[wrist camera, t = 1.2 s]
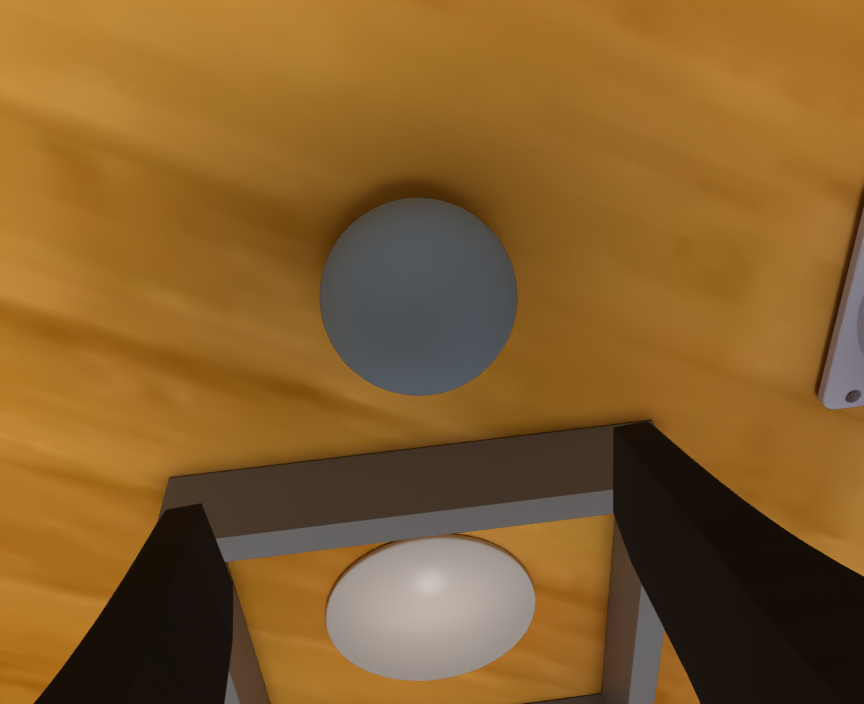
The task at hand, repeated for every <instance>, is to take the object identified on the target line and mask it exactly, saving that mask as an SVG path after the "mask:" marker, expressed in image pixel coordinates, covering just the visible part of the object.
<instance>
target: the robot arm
mask: <svg viewBox="0 0 864 704" xmlns="http://www.w3.org/2000/svg"><path fill="white" fill-rule="evenodd" d="M852 390H853V392H852V393H850V394H849V395H847V394H848V393H849V392H850V391H852ZM818 399H819V400H820V402H821V403H822V404H823V405H824V406H825V407H826V408H828V409H842V408H850V407H858V406H864V208H863V212H862V216H861V220H860V224H859V228H858V232H857V237H856V241H855V245H854V249H853V253H852V257H851V261H850V265H849V269H848V274H847V278H846V282H845V286H844V290H843V294H842V298H841V302H840V306H839V310H838V315H837V319H836V323H835V327H834V331H833V335H832V339H831V343H830V347H829V352H828V356H827V360H826V364H825V368H824V372H823V376H822V380H821V384H820V389H819V393H818ZM613 513H614V516H615V519H616V522H617V525H618V528H619V531H620V533H621V536H622V539H623V542H624V545H625V547H626V550H627V553H628V555H629V558H630V561H631V563H632V565H633V568H634V570H635V572H636V574H637V576H638V578H639V580H640V582H641V584H642V586H643V588H644V590H645V592H646V594H647V596H648V598H649V600H650V602H651V604H652V606H653V608H654V610H655V612H656V614H657V616H658V617H659V619H660V621H661V623H662V625H663V627H664V629H665V631H666V633H667V635H668V637H669V639H670V641H671V643H672V645H673V647H674V649H675V651H676V653H677V655H678V657H679V659H680V661H681V663H682V665H683V667H684V669H685V671H686V673H687V675H688V677H689V679H690V681H691V683H692V686H693V688H694V690H695V692H696V694H697V697H698V699H699V701H700V704H864V576H862V575H860V574H858V573H856V572H854V571H853V570H851V569H849V568H847V567H845V566H844V565H842V564H840V563H838V562H837V561H835V560H833V559H832V558H830V557H828V556H827V555H825V554H823V553H822V552H820V551H818V550H817V549H815V548H813V547H811V546H810V545H808V544H806V543H805V542H803V541H802V540H800V539H799V538H797V537H796V536H794V535H793V534H791V533H790V532H788V531H787V530H785V529H784V528H782V527H781V526H779V525H778V524H776V523H775V522H774V521H772V520H771V519H769V518H768V517H766V516H765V515H764V514H762V513H761V512H759V511H758V510H757V509H755V508H754V507H753V506H751V505H750V504H749V503H747V502H746V501H744V500H743V499H742V498H741V497H739V496H738V495H737V494H735V493H734V492H733V491H732V490H730V489H729V488H728V487H726V486H725V485H724V484H723V483H721V482H720V481H719V480H717V479H716V478H715V477H714V476H712V475H711V474H710V473H709V472H708V471H706V470H705V469H704V468H703V467H701V466H700V465H699V464H698V463H697V462H695V461H694V460H693V459H692V458H691V457H689V456H688V455H687V454H686V453H685V452H684V451H682V450H681V449H680V448H679V447H678V446H677V445H675V444H674V443H673V442H672V441H671V440H670V439H668V438H667V437H666V436H665V435H664V434H663V433H662V432H660V431H659V430H658V429H657V428H656V427H655V426H653V425H652V424H651V423H649V422H648V421H645V422H640V423H634V424H629V425H623V426H618V427H613ZM232 642H233V581H232V579H231V576H230V574H229V571H228V569H227V566H226V564H225V561H224V559H223V556H222V553H221V551H220V548H219V546H218V543H217V541H216V538H215V536H214V533H213V531H212V528H211V526H210V523H209V521H208V518H207V516H206V513H205V510H204V508H203V505H202V503H199V504H194V505H188V506H183V507H178V508H172V509H167V510H165V512H164V513H163V514H162V516H161V517H160V519H159V521H158V522H157V524H156V526H155V527H154V529H153V531H152V532H151V534H150V536H149V537H148V539H147V541H146V542H145V544H144V546H143V547H142V549H141V551H140V552H139V554H138V556H137V557H136V559H135V560H134V562H133V564H132V565H131V567H130V569H129V570H128V572H127V573H126V575H125V577H124V578H123V580H122V581H121V583H120V585H119V586H118V588H117V589H116V591H115V592H114V594H113V595H112V597H111V598H110V600H109V601H108V603H107V605H106V606H105V608H104V609H103V611H102V612H101V614H100V615H99V617H98V618H97V620H96V621H95V623H94V624H93V626H92V627H91V628H90V630H89V631H88V633H87V634H86V635H85V637H84V638H83V640H82V641H81V642H80V644H79V645H78V647H77V648H76V649H75V651H74V652H73V654H72V655H71V656H70V658H69V659H68V661H67V662H66V663H65V665H64V666H63V667H62V669H61V670H60V671H59V672H58V674H57V675H56V676H55V678H54V679H53V680H52V682H51V683H50V684H49V685H48V687H47V688H46V689H45V690H44V692H43V693H42V694H41V695H40V697H39V698H38V699H37V700H36V701H35V703H34V704H224V703H225V696H226V689H227V681H228V673H229V666H230V658H231V650H232Z"/></svg>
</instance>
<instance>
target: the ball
mask: <svg viewBox="0 0 864 704" xmlns="http://www.w3.org/2000/svg"><path fill="white" fill-rule="evenodd" d="M320 306H321V315H322V319H323V323H324V327H325V329H326V332H327V334H328V337H329V339H330V342H331V343H332V345H333V347H334V348H335V350H336V352H337V353H338V354H339V356H340V357H341V358H342V359H343V361H344V362H345V363H346V364H347V365H348V366H349V367H350V368H351V369H352V370H353V371H354V372H355V373H357V374H358V375H359V376H361V377H362V378H364V379H365V380H366V381H368V382H370V383H371V384H373V385H375V386H377V387H380V388H382V389H385V390H387V391H391V392H395V393H399V394H405V395H417V396H422V395H433V394H439V393H443V392H447V391H450V390H453V389H455V388H458V387H460V386H462V385H464V384H466V383H467V382H469V381H471V380H472V379H474V378H475V377H477V376H478V375H480V374H481V373H482V372H483V371H484V370H485V369H487V368H488V367H489V365H490V364H491V363H492V362H493V361H494V360H495V359H496V357H497V356H498V354H499V353H500V352H501V350H502V349H503V347H504V345H505V343H506V341H507V340H508V338H509V335H510V332H511V330H512V327H513V323H514V320H515V315H516V309H517V285H516V279H515V275H514V270H513V267H512V263H511V261H510V258H509V256H508V254H507V252H506V250H505V249H504V247H503V245H502V244H501V242H500V240H499V239H498V237H497V236H496V235H495V234H494V232H493V231H492V230H491V229H490V228H489V227H488V226H487V225H486V224H485V223H484V222H482V221H481V220H480V219H479V218H478V217H476V216H475V215H473V214H472V213H470V212H469V211H467V210H465V209H463V208H461V207H459V206H457V205H454V204H451V203H448V202H445V201H441V200H437V199H432V198H405V199H399V200H395V201H391V202H388V203H385V204H382V205H380V206H378V207H375V208H373V209H372V210H370V211H368V212H367V213H365V214H363V215H362V216H361V217H359V218H358V219H357V220H356V221H354V222H353V223H352V224H351V225H350V226H349V227H348V228H347V229H346V230H345V231H344V232H343V233H342V235H341V236H340V237H339V239H338V240H337V241H336V243H335V245H334V247H333V248H332V250H331V252H330V254H329V256H328V258H327V261H326V263H325V266H324V270H323V274H322V279H321V284H320Z"/></svg>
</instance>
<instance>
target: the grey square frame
mask: <svg viewBox="0 0 864 704" xmlns="http://www.w3.org/2000/svg"><path fill="white" fill-rule="evenodd" d="M643 422H645V421H643ZM648 422H649V423H651V424H652V425H653V426H655V425H654V423H653V422H652V420H651V421H648ZM634 423H640V422H634ZM634 423H626V424H618V425H609V426H601V427H593V428H584V429H576V430H567V431H559V432H551V433H542V434H534V435H526V436H517V437H509V438H500V439H492V440H484V441H475V442H467V443H459V444H450V445H442V446H433V447H425V448H417V449H408V450H400V451H392V452H383V453H375V454H366V455H358V456H350V457H341V458H333V459H325V460H316V461H308V462H300V463H291V464H283V465H274V466H266V467H258V468H249V469H241V470H233V471H224V472H216V473H207V474H199V475H191V476H182V477H174V478H169V481H168V485H167V488H166V492H165V496H164V500H163V503H162V507H161V511H160V514H159V518H158V521H159V519H160V517H161V516H162V514H163V513H164V512H165V510H167V509H172V508H178V507H183V506H188V505H194V504H199V503H202V505H203V508H204V510H205V513H206V516H207V518H208V521H209V523H210V526H211V528H212V531H213V533H214V536H215V538H216V541H217V543H218V546H219V548H220V551H221V553H222V556H223V559H224V561H225V564H226V566H227V569H228V571H229V574H230V576H231V573H230V570H229V567H228V563H227V562H229V561H237V560H245V559H253V558H261V557H269V556H277V555H285V554H293V553H301V552H309V551H317V550H325V549H333V548H341V547H349V546H357V545H365V544H373V543H381V542H389V541H394V542H392V543H389V544H386V545H384V546H381V547H379V548H377V549H375V550H373V551H371V552H369V553H368V554H366V555H365V556H363V557H361V558H360V559H358V560H357V561H356V562H355V563H353V564H352V565H351V566H350V567H349V568H348V569H347V570H346V571H345V572H344V573H343V574H342V575H341V576H340V577H339V579H338V580H337V582H336V583H335V585H334V586H333V589H332V591H331V593H330V595H329V599H328V602H327V610H326V623H327V630H328V633H329V636H330V638H331V640H332V642H333V644H334V646H335V647H336V648H337V649H338V651H339V652H340V653H341V654H342V655H343V656H344V657H345V658H347V659H348V660H349V661H350V662H352V663H353V664H355V665H356V666H358V667H360V668H362V669H364V670H366V671H369V672H371V673H374V674H377V675H380V676H384V677H388V678H393V679H400V680H412V681H424V680H437V679H443V678H449V677H454V676H458V675H461V674H465V673H468V672H471V671H473V670H476V669H478V668H481V667H483V666H485V665H487V664H489V663H491V662H492V661H494V660H496V659H498V658H499V657H501V656H502V655H503V654H505V653H506V652H507V651H509V650H510V649H511V648H512V647H513V646H514V645H515V644H516V643H517V642H518V641H519V640H520V639H521V638H522V636H523V635H524V633H525V632H526V630H527V629H528V627H529V625H530V623H531V621H532V618H533V614H534V611H535V593H534V589H533V586H532V582H531V579H530V577H529V575H528V573H527V571H526V569H525V568H524V567H523V565H522V564H521V563H520V562H519V561H518V560H517V559H516V558H515V557H514V556H513V555H512V554H510V553H509V552H507V551H506V550H504V549H503V548H501V547H499V546H497V545H495V544H493V543H490V542H487V541H484V540H481V539H478V538H474V537H469V536H463V535H455V534H453V533H461V532H470V531H478V530H486V529H494V528H502V527H510V526H518V525H526V524H534V523H542V522H550V521H558V520H566V519H574V518H582V517H590V516H598V515H606V514H614V513H613V427H618V426H623V425H629V424H634ZM397 540H398V541H397ZM231 579H232V577H231ZM232 581H233V580H232ZM663 635H664V627H663V625H662V623H661V621H660V619H659V617H658V616H657V614H656V612H655V610H654V608H653V606H652V604H651V602H650V600H649V598H648V596H647V594H646V592H645V590H644V588H643V586H642V584H641V582H640V580H639V578H638V576H637V574H636V572H635V570H634V568H633V565H632V563H631V561H630V558H629V555H628V553H627V550H626V547H625V545H624V542H623V539H622V536H621V533H620V531H619V528H618V525H617V522H616V519H615V526H614V539H613V552H612V564H611V577H610V590H609V603H608V616H607V628H606V641H605V654H604V667H603V680H602V692H601V694H597V695H590V696H583V697H575V698H568V699H561V700H553V701H546V702H538V703H531V704H654V699H655V692H656V685H657V678H658V670H659V663H660V656H661V649H662V642H663ZM224 704H270V701H269V697H268V694H267V691H266V688H265V684H264V681H263V678H262V675H261V671H260V668H259V665H258V661H257V658H256V655H255V652H254V648H253V645H252V642H251V639H250V635H249V632H248V629H247V626H246V622H245V619H244V616H243V612H242V609H241V606H240V603H239V599H238V596H237V593H236V590H235V586H234V583H233V642H232V650H231V658H230V666H229V673H228V681H227V689H226V696H225V703H224Z"/></svg>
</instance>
